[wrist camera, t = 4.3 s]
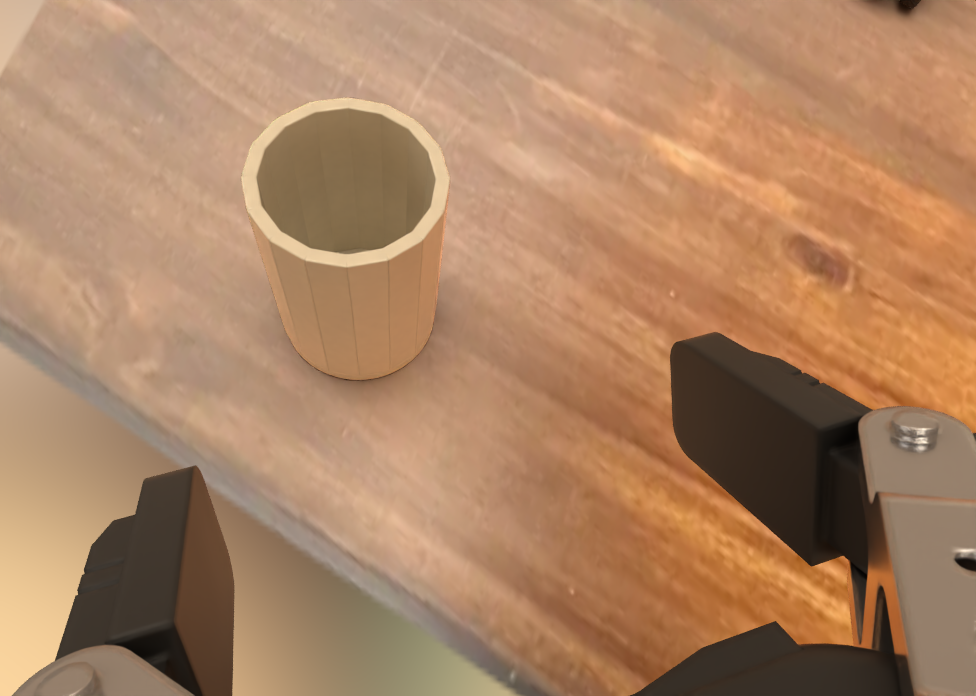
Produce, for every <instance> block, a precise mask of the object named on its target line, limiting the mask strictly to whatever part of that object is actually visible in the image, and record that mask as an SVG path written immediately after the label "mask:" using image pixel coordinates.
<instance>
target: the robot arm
mask: <svg viewBox="0 0 976 696" xmlns="http://www.w3.org/2000/svg"><path fill="white" fill-rule="evenodd" d="M670 365H671V391H672V416H673V427H674V432H675V435H676V438H677V440H678V443H679V445H680V447H681V448H682V450H683V451H684V453H685V454H686V455H687V456H688V457H689V458H690V459H691V460H692V461H693V462H695V463H696V464H697V465H698V466H699V467H700V468H701V469H702V470H704V471H705V472H706V473H707V474H708V475H709V476H710V477H711V478H713V479H714V480H715V481H716V482H717V483H718V484H719V485H720V486H722V487H723V488H724V489H725V490H726V491H727V492H728V493H729V494H731V495H732V496H733V497H734V498H735V499H736V500H737V501H738V502H739V503H741V504H742V505H743V506H744V507H745V508H746V509H747V510H748V511H750V512H751V513H752V514H753V515H754V516H755V517H756V518H757V519H759V520H760V521H761V522H762V523H763V524H764V525H765V526H766V527H768V528H769V529H770V530H771V531H772V532H773V533H774V534H775V535H777V536H778V537H779V538H780V539H781V540H782V541H783V542H784V543H786V544H787V545H788V546H789V547H790V548H791V549H792V550H793V551H795V552H796V553H797V554H798V555H799V556H800V557H801V558H802V559H804V560H805V561H806V562H807V563H808V564H809V565H810V566H811V567H812V566H815V565H817V564H820V563H823V562H826V561H829V560H832V559H835V558H837V557H840V556H845V557H846V558H847V559H848V573H847V585H848V595H849V605H850V615H851V625H852V635H853V645H854V646H849V645H838V644H801V645H798V644H797V643H796V642H795V641H794V640H793V639H792V638H791V637H790V636H789V635H788V634H787V633H786V632H785V631H784V629H783V628H782V627H781V626H780V625H779V624H778V623H777V622H776V621H775V622H772V623H769V624H766V625H764V626H761V627H758V628H755V629H753V630H750V631H747V632H744V633H742V634H739V635H736V636H733V637H731V638H728V639H725V640H722V641H720V642H717V643H714V644H712V645H709V646H706V647H703V648H701V649H700V650H698V651H697V652H695V653H694V654H693V655H691V656H690V657H688V658H687V659H685V660H684V661H682V662H681V663H680V664H678V665H677V666H675V667H674V668H672V669H671V670H669V671H668V672H667V673H665V674H664V675H662V676H661V677H659V678H658V679H656V680H655V681H654V682H652V683H651V684H649V685H648V686H646V687H645V688H644V689H642V690H641V691H639V692H637V693H635V694H633V695H630V696H976V433H972V432H971V430H970V429H969V428H968V427H967V426H966V425H965V424H964V423H962V422H961V421H959V420H957V419H956V418H954V417H952V416H949V415H947V414H944V413H941V412H938V411H934V410H930V409H925V408H919V407H908V406H897V407H886V408H881V409H877V410H874V411H873V410H872V409H870V408H868V407H866V406H864V405H863V404H861V403H859V402H857V401H855V400H854V399H852V398H850V397H848V396H846V395H845V394H843V393H841V392H839V391H837V390H835V389H834V388H832V387H830V386H828V385H826V384H825V383H821V384H820V383H819V380H817V379H816V378H814V377H812V376H810V375H808V374H807V373H803V374H802V372H801V370H799V369H798V368H796V367H794V366H792V365H790V364H789V363H787V362H785V361H783V360H781V359H780V358H776V357H772V356H768V355H765V354H761V353H757V352H753V351H750V350H748V349H746V348H745V347H743V346H741V345H739V344H738V343H736V342H734V341H732V340H731V339H729V338H727V337H725V336H724V335H722V334H720V333H717V332H714V333H709V334H706V335H702V336H698V337H694V338H690V339H686V340H682V341H679V342H676V343H675V344H674V345H673V347H672V349H671V354H670ZM84 572H85V574H84V575H82V577H81V581H80V584H79V587H78V590H77V591H78V595H77V596H75V599H74V602H73V606H72V609H71V612H70V615H69V618H68V621H67V625H66V628H65V631H64V634H63V637H62V640H61V643H60V647H59V650H58V653H57V656H56V659H55V661H54V662H52V663H51V664H49V665H48V666H46V667H44V668H43V669H41V670H40V671H38V672H37V673H36V674H35V675H33V676H32V677H31V678H29V679H28V680H27V681H26V682H25V683H24V684H23V685H22V686H21V687H19V689H18V690H17V691H16V692H15V693H14V694H13V695H12V696H232V678H233V630H234V629H233V628H234V579H233V572H232V566H231V562H230V557H229V553H228V550H227V547H226V544H225V541H224V538H223V535H222V532H221V529H220V526H219V523H218V520H217V517H216V515H215V511H214V508H213V505H212V502H211V499H210V496H209V493H208V490H207V487H206V484H205V481H204V479H203V476H202V474H201V472H200V470H199V468H198V467H197V466H192V467H188V468H184V469H180V470H176V471H173V472H169V473H165V474H161V475H157V476H153V477H150V478H146V479H145V480H144V481H143V485H142V489H141V493H140V497H139V501H138V505H137V510H136V514H135V515H133V516H129V517H125V518H121V519H117V520H114V521H113V522H112V523H111V524H110V525H109V526H108V527H107V528H106V530H105V531H104V532H103V533H102V534H101V536H100V537H99V538H98V539H97V540H96V541H95V542H94V543H93V544H92V546H91V549H90V552H89V555H88V559H87V562H86V565H85V568H84Z"/></svg>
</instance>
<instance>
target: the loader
mask: <svg viewBox="0 0 976 696" xmlns="http://www.w3.org/2000/svg"><path fill="white" fill-rule="evenodd" d="M920 1H921V0H900V2H901V3H902V4H904V5H905V6H907V7H910V8H914V7H916V6H917V4H918V3H919V2H920Z"/></svg>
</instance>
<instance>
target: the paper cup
mask: <svg viewBox="0 0 976 696" xmlns="http://www.w3.org/2000/svg"><path fill="white" fill-rule="evenodd" d="M241 182H242V188H243V194H244V199H245V205H246V210H247V213H248V217H249V220H250V223H251V226H252V229H253V232H254V235H255V238H256V241H257V245H258V248H259V251H260V254H261V257H262V260H263V263H264V266H265V270H266V273H267V276H268V279H269V282H270V285H271V288H272V291H273V295H274V298H275V301H276V304H277V307H278V310H279V313H280V316H281V319H282V323H283V326H284V329H285V331H286V334H287V335H288V337H289V339H290V341H291V343H292V345H293V346H294V348H295V349H296V351H297V352H298V353H299V354H300V355H301V357H302V358H303V359H305V360H306V361H307V362H308V363H309V364H311V365H312V366H313V367H315V368H316V369H318V370H320V371H322V372H324V373H326V374H329V375H332V376H335V377H339V378H343V379H351V380H367V379H374V378H378V377H382V376H386V375H388V374H390V373H393V372H395V371H397V370H399V369H401V368H402V367H404V366H405V365H407V364H408V363H409V362H411V361H412V360H413V359H414V358H415V357H416V356H417V355H418V354H419V353H420V351H421V350H422V349H423V347H424V346H425V344H426V342H427V341H428V339H429V336H430V334H431V332H432V328H433V324H434V316H435V311H436V305H437V296H438V287H439V278H440V269H441V260H442V251H443V242H444V233H445V224H446V215H447V206H448V197H449V188H450V176H449V173H448V169H447V166H446V163H445V159H444V156H443V153H442V149H441V148H440V146H439V145H438V144H437V143H436V141H435V140H434V139H433V138H432V137H431V136H430V135H429V133H428V132H427V131H426V130H425V129H424V128H423V126H422V125H421V124H420V123H419V122H418V121H416V120H415V119H413V118H411V117H409V116H407V115H405V114H403V113H402V112H400V111H398V110H396V109H394V108H392V107H391V106H389V105H385V104H383V103H378V102H372V101H367V100H361V99H355V98H347V97H345V98H338V99H330V100H322V101H314V102H310V103H307V104H305V105H302V106H300V107H298V108H296V109H294V110H292V111H290V112H288V113H286V114H284V115H282V116H279V117H277V119H275V120H274V121H273V122H272V123H271V124H270V125H269V126H268V127H267V128H266V129H265V130H264V131H263V132H262V134H261V135H260V136H259V137H258V138H257V139H256V140H255V141H254V142H253V143H252V145H251V147H250V150H249V153H248V156H247V159H246V162H245V165H244V169H243V172H242V175H241Z"/></svg>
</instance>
